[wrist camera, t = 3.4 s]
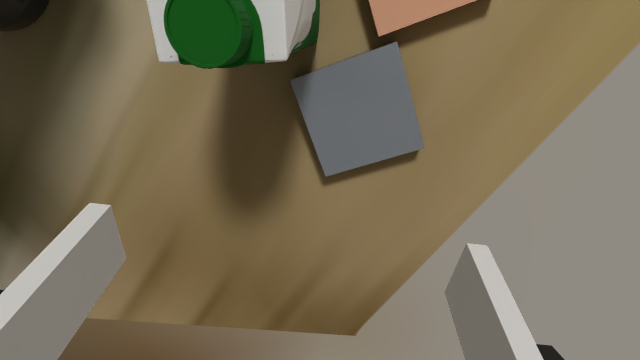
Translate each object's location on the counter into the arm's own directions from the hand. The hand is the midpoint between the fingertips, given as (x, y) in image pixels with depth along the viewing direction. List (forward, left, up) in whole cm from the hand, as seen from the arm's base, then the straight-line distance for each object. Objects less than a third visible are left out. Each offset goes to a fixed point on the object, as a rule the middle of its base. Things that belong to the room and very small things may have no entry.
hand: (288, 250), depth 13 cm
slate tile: (+1, +2, -27) cm, 27 cm away
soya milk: (-11, -2, -27) cm, 29 cm away
